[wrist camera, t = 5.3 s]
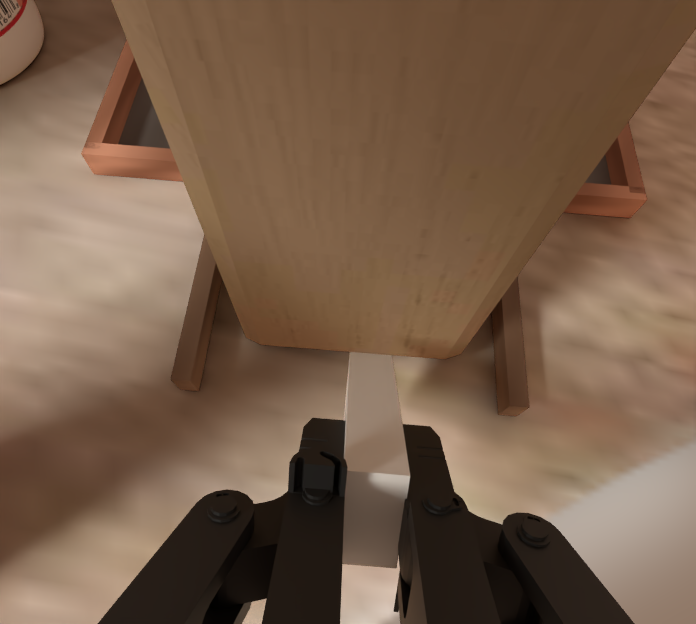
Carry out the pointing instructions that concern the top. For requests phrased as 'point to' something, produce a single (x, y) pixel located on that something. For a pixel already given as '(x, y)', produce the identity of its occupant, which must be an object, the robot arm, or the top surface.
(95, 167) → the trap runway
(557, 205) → the wooden block
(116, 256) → the top surface
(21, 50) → the fruit juice
